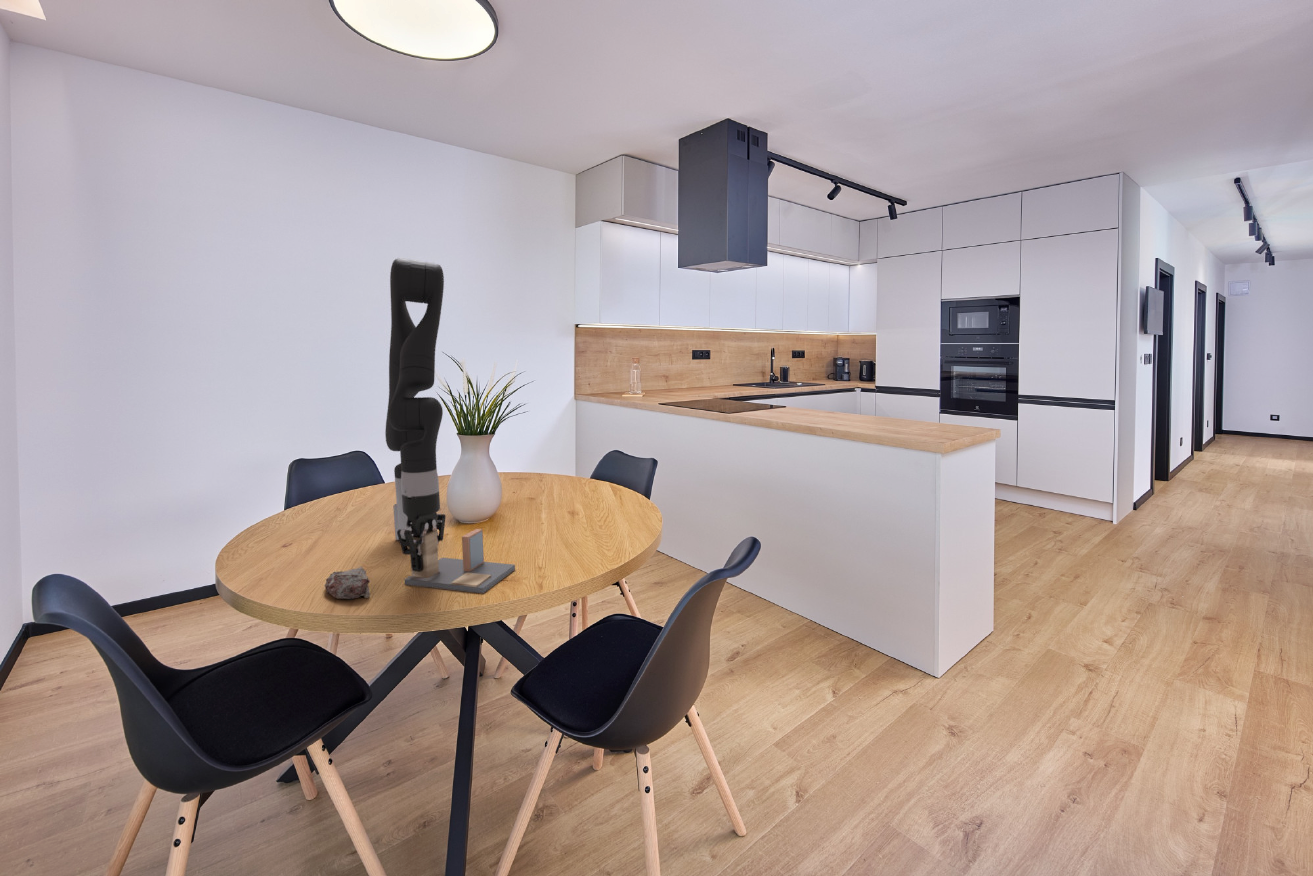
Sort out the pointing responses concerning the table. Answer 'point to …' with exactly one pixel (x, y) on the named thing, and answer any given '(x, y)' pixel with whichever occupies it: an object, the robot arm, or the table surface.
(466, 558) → the tile
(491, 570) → the slate board
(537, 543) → the table surface
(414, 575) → the block
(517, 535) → the table surface
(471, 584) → the cork pad
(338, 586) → the mineral rock
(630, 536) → the table surface
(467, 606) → the table surface
